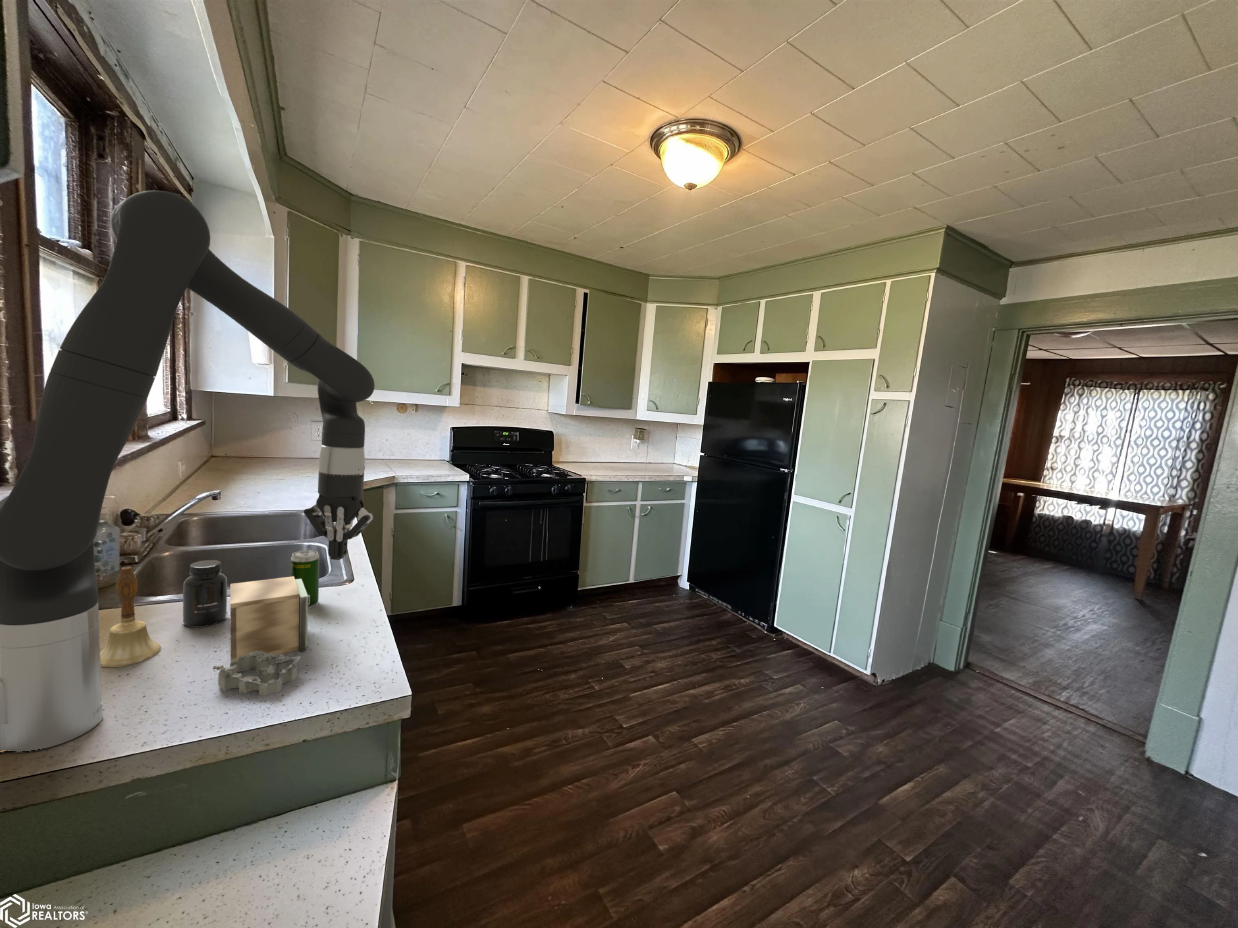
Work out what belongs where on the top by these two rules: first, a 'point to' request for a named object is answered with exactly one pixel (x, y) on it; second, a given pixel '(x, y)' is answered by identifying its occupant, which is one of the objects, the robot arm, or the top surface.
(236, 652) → the cupboard
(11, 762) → the top surface
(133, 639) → the hand bell
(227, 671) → the egg carton
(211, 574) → the supplement bottle
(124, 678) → the top surface
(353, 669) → the top surface
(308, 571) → the beer can
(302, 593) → the door
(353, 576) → the top surface
